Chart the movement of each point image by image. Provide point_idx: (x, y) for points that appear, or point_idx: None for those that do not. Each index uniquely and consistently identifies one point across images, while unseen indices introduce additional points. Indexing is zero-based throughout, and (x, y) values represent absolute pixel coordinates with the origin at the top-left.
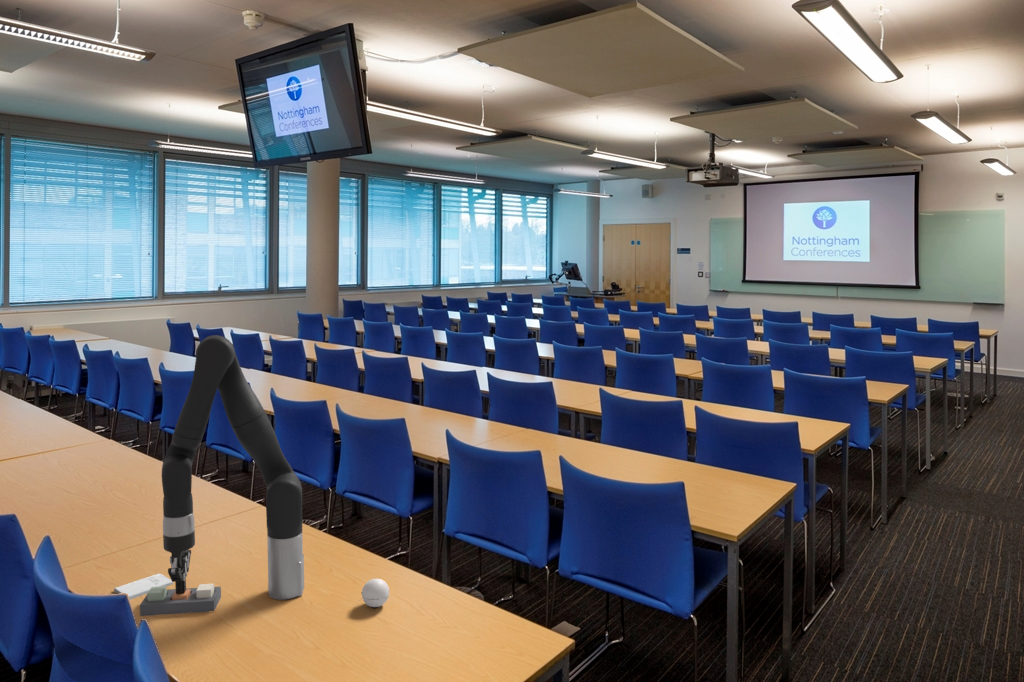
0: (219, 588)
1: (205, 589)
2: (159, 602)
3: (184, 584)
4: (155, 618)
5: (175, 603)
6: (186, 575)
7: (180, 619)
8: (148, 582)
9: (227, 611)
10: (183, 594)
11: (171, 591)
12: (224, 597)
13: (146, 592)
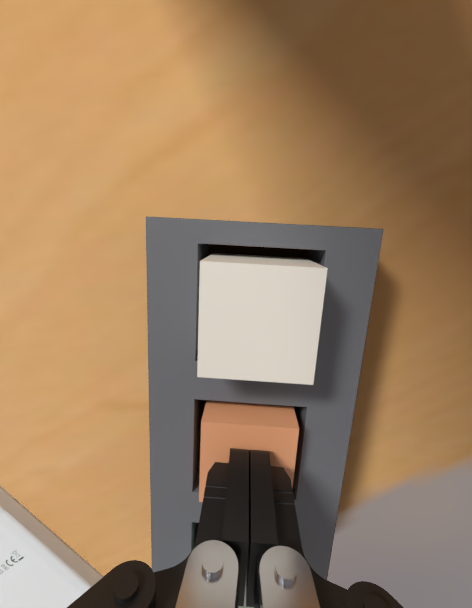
0: (179, 220)
1: (310, 315)
2: (314, 545)
3: (270, 504)
4: (347, 496)
5: (343, 464)
6: (224, 564)
7: (393, 390)
8: (3, 590)
9: (373, 143)
10: (278, 450)
11: (181, 510)
12: (176, 197)
13: (89, 574)
